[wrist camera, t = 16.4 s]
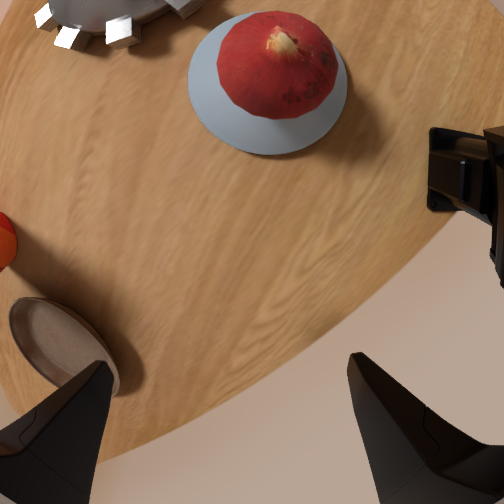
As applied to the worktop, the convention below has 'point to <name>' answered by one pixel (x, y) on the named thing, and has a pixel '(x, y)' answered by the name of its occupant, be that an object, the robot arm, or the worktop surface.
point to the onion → (277, 65)
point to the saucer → (56, 340)
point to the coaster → (243, 123)
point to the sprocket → (106, 19)
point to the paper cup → (7, 242)
